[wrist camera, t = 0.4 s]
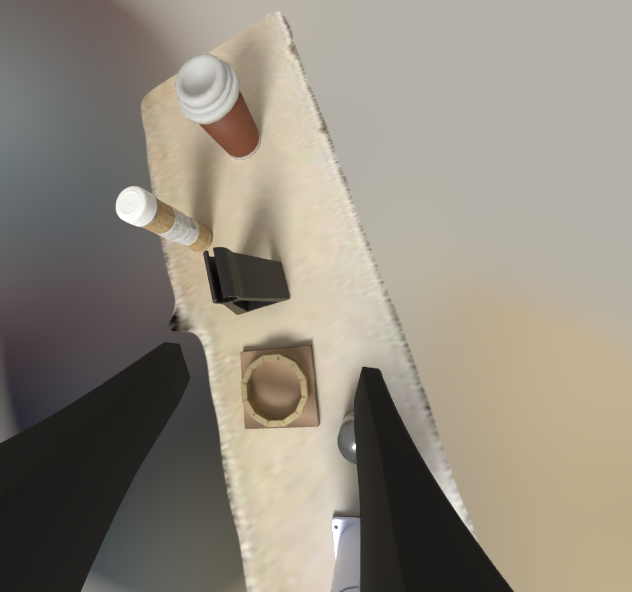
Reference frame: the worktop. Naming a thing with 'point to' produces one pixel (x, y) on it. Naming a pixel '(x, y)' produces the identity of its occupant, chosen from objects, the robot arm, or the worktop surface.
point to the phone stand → (244, 280)
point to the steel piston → (347, 438)
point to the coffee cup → (217, 104)
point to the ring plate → (279, 388)
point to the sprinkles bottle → (161, 219)
